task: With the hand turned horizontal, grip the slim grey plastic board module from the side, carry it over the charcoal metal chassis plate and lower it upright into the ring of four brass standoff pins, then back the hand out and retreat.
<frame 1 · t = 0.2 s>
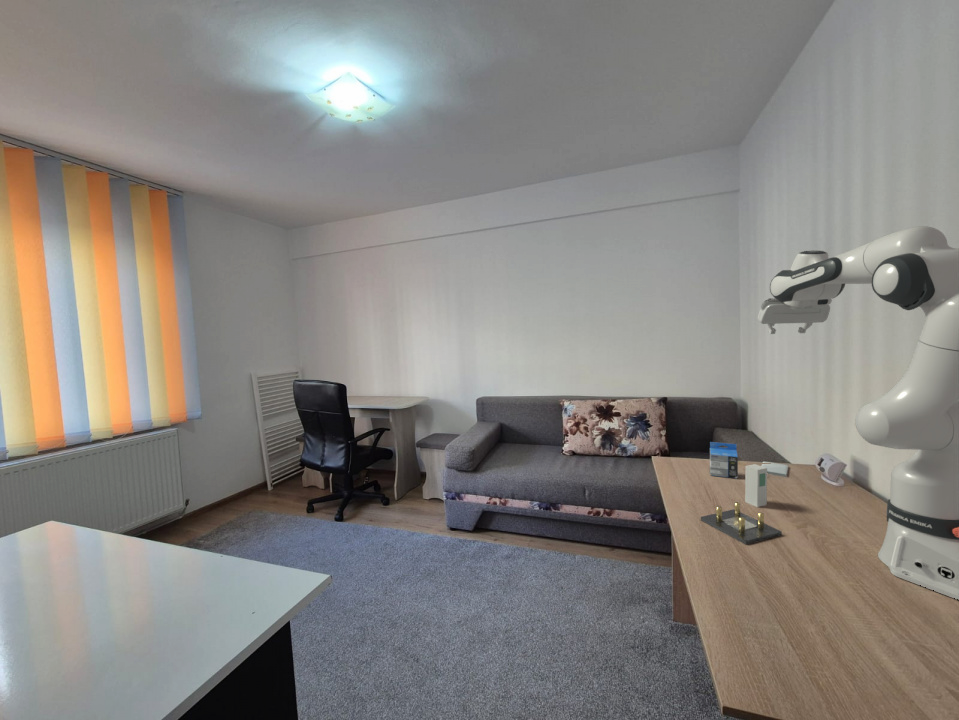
hand: (786, 332, 139), 53 cm above the table, tool tilted 25°, fingers open, 8 cm apart
hard drive: (773, 471, 149), on the table
board module: (755, 503, 123), on the table
chassis: (739, 527, 109), on the table
label tape box: (723, 476, 146), on the table
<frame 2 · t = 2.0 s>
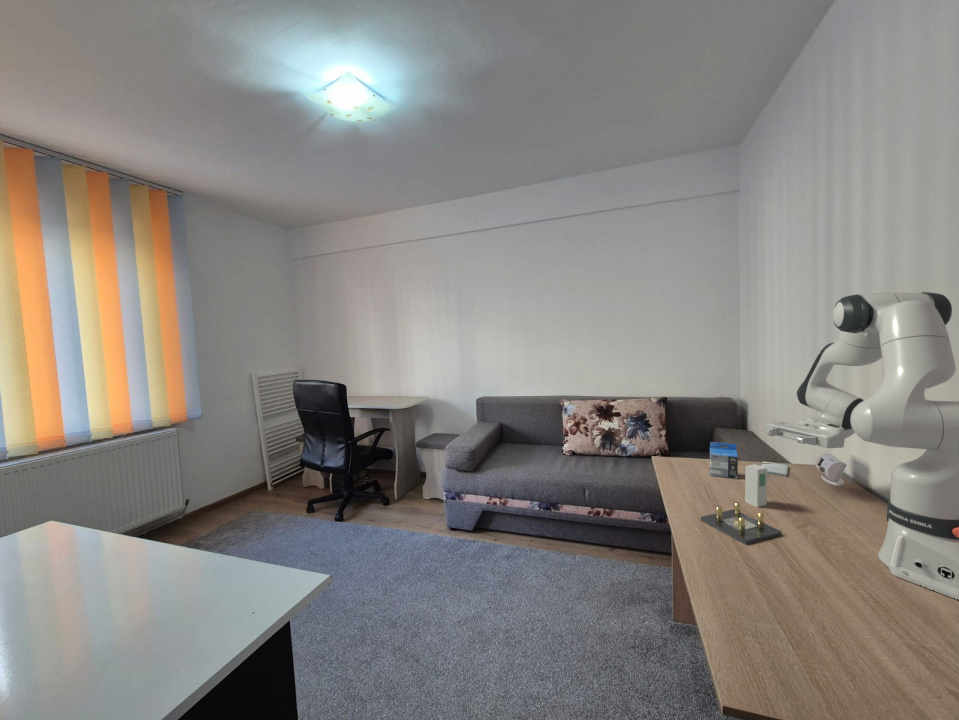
hand: (784, 436, 125), 20 cm above the table, tool horizontal, fingers open, 8 cm apart
nothing on the table moved.
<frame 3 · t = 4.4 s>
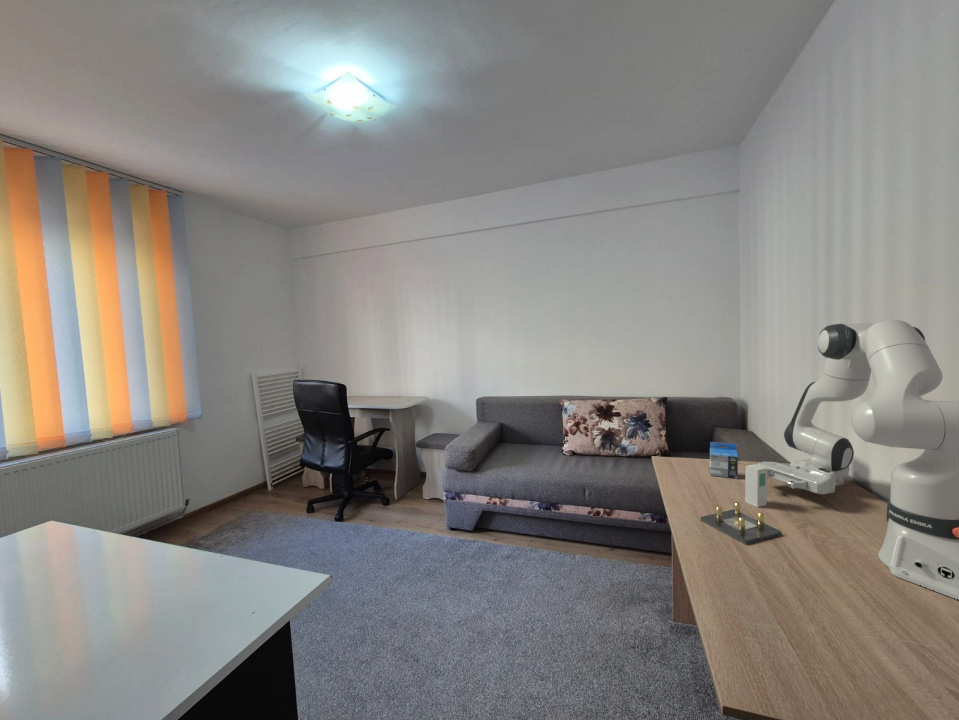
hand: (774, 479, 124), 7 cm above the table, tool horizontal, fingers open, 8 cm apart
nothing on the table moved.
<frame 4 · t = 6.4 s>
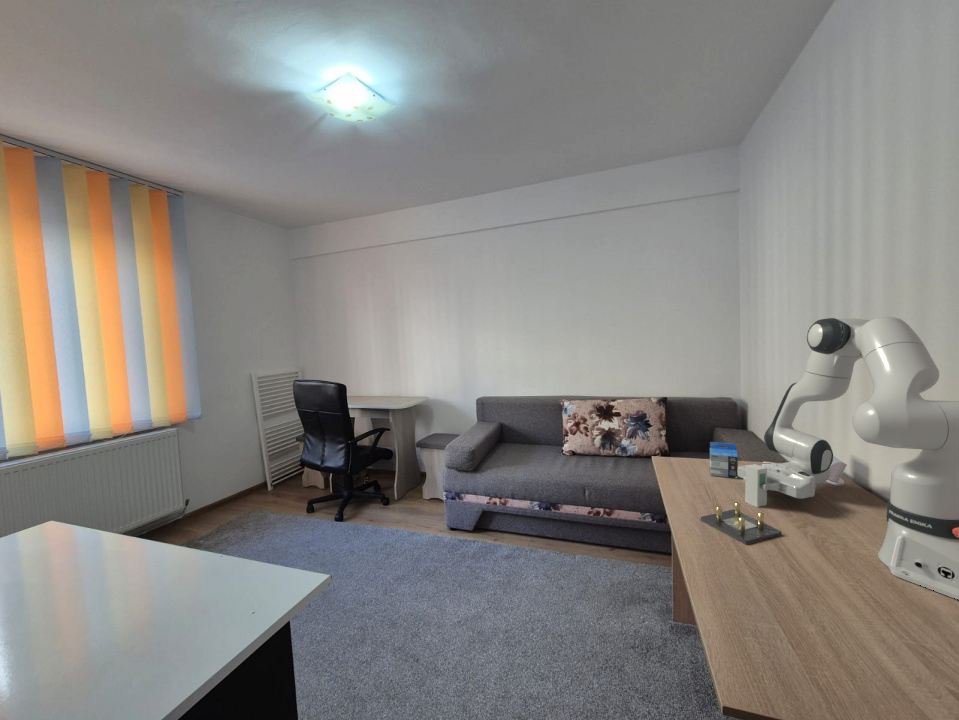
hand: (753, 483, 122), 7 cm above the table, tool horizontal, fingers closed on board module, 4 cm apart
board module: (755, 503, 123), on the table, touching gripper
everything else where it was.
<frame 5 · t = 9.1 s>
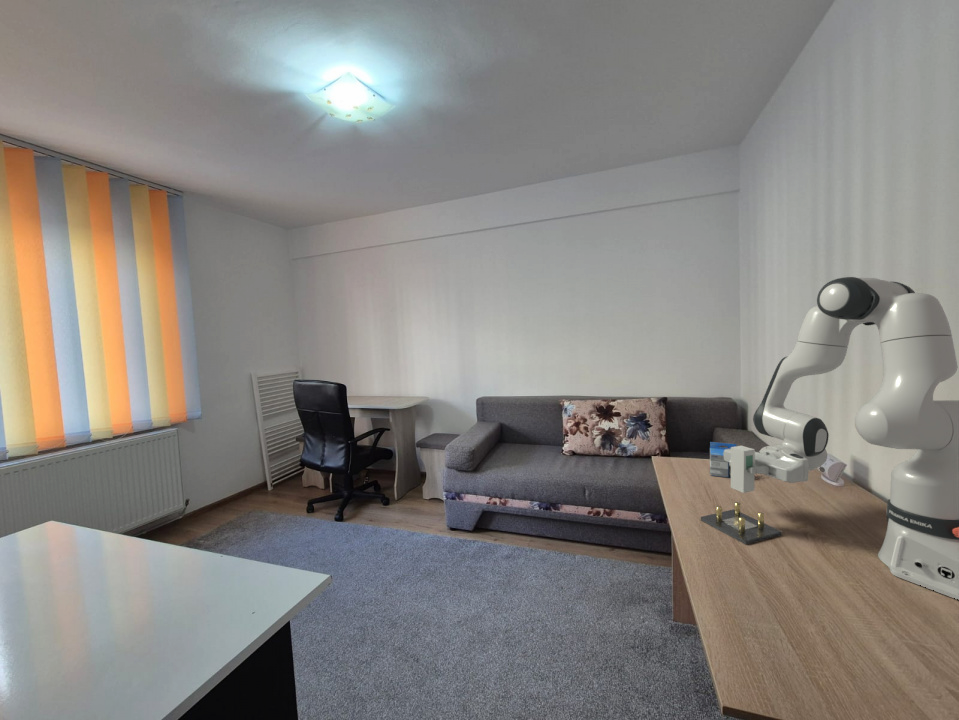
hand: (740, 467, 109), 17 cm above the table, tool horizontal, fingers closed on board module, 4 cm apart
board module: (742, 489, 110), point 10 cm above the table, touching gripper
everything else where it was.
when the fingers open (9 cm above the table, at t = 11.6 s): board module drops 1 cm, resting on chassis.
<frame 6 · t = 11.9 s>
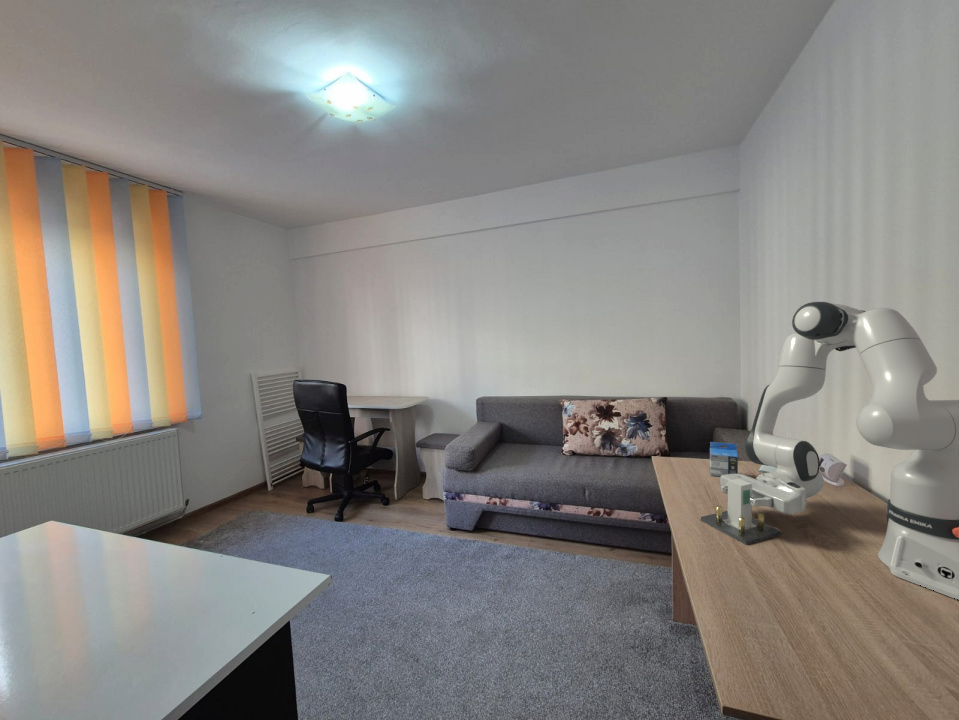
hand: (737, 496, 108), 9 cm above the table, tool horizontal, fingers open, 7 cm apart
board module: (739, 523, 109), point 1 cm above the table, touching chassis
everything else where it was.
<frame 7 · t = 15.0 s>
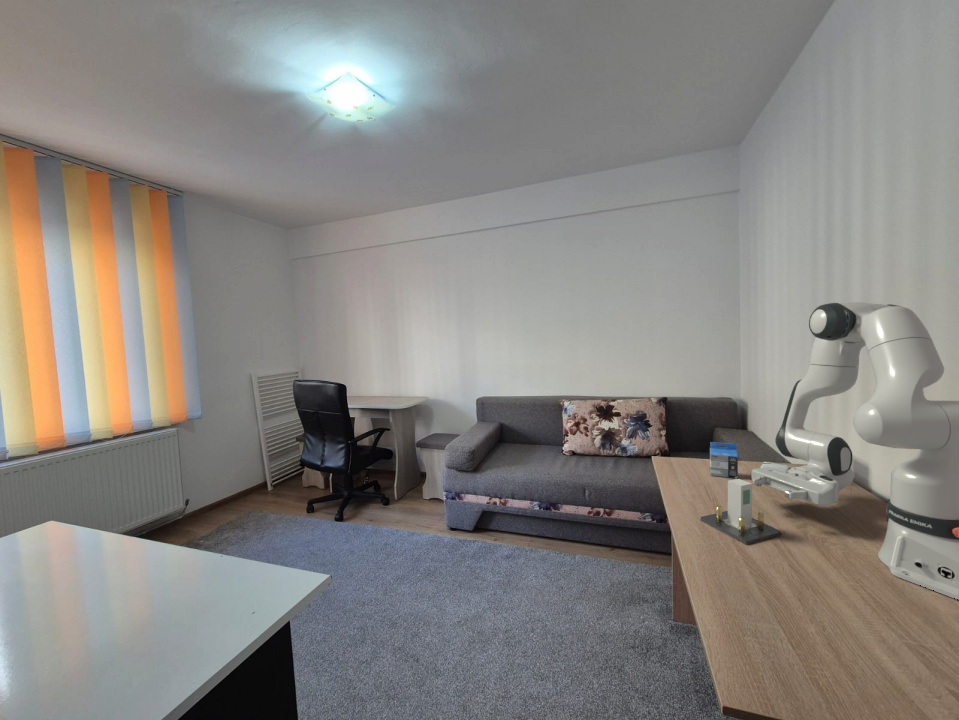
hand: (770, 488, 112), 9 cm above the table, tool horizontal, fingers open, 8 cm apart
nothing on the table moved.
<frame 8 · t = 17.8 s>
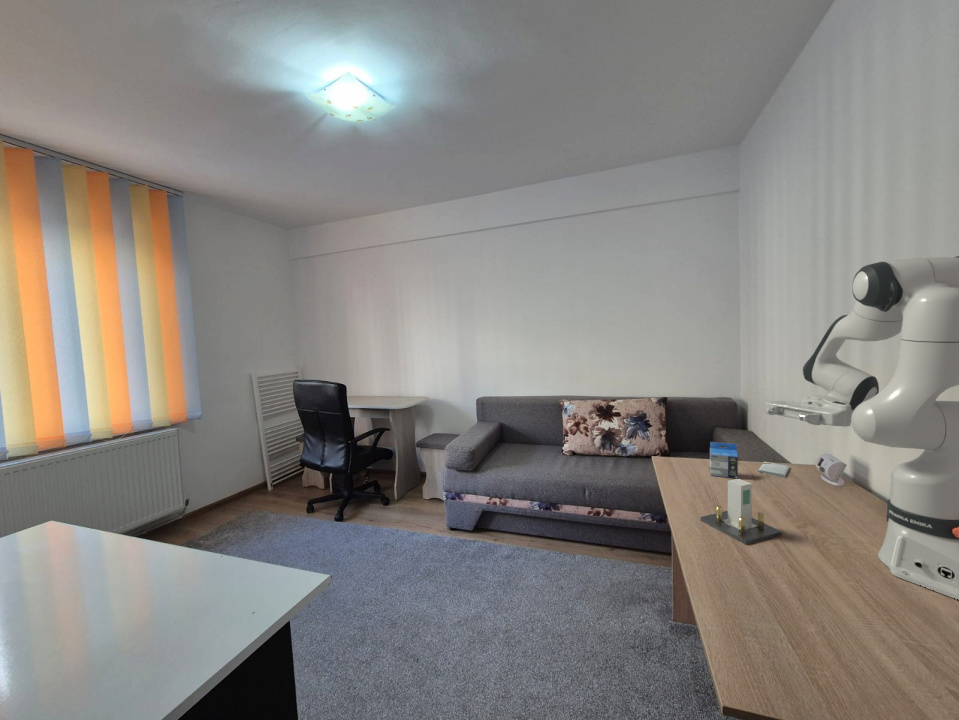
hand: (784, 414, 114), 30 cm above the table, tool horizontal, fingers open, 8 cm apart
nothing on the table moved.
at the end: board module 0.0 cm off-centre on the chassis, point 1.2 cm above the chassis's base; board module tilted 0°; the gripper is holding nothing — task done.
